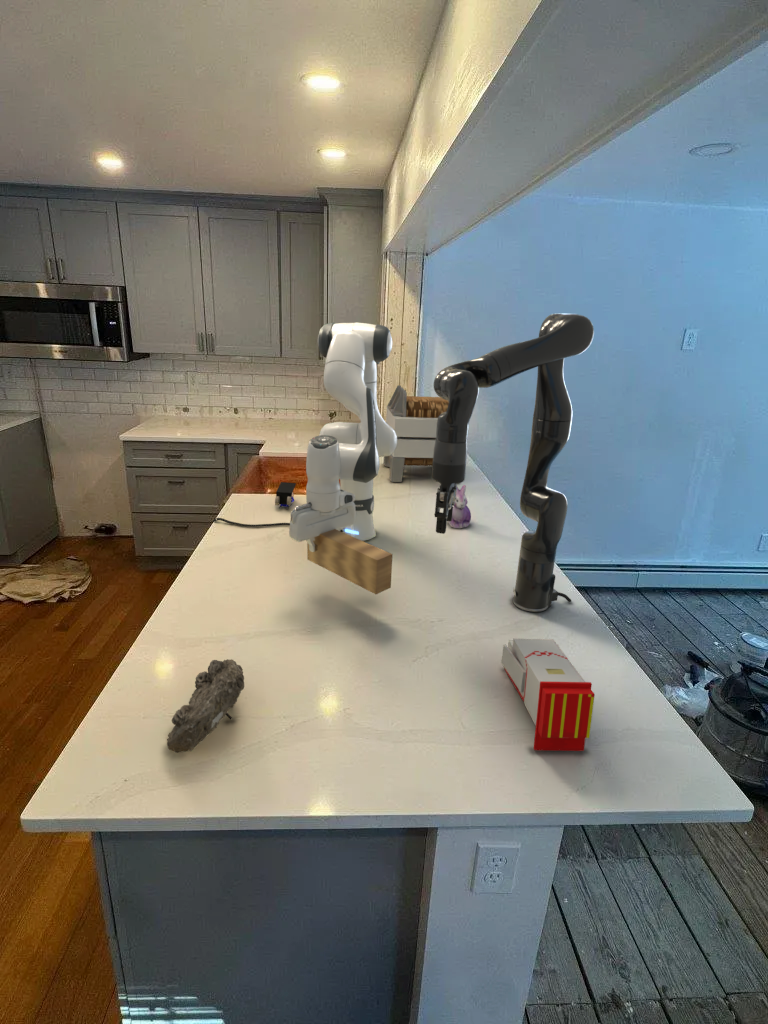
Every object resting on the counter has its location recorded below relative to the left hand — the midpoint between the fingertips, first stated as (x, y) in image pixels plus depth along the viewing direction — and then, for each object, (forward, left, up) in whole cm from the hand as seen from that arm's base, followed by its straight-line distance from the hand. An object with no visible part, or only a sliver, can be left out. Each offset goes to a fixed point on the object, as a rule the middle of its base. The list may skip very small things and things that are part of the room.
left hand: (323, 547), depth 152 cm
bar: (+9, -5, -4) cm, 10 cm away
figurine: (+28, +67, -14) cm, 74 cm away
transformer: (-1, +129, -14) cm, 130 cm away
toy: (+59, -29, -14) cm, 67 cm away
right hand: (+33, -7, +14) cm, 37 cm away
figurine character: (-40, +62, -14) cm, 75 cm away
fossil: (-1, -54, -14) cm, 56 cm away
